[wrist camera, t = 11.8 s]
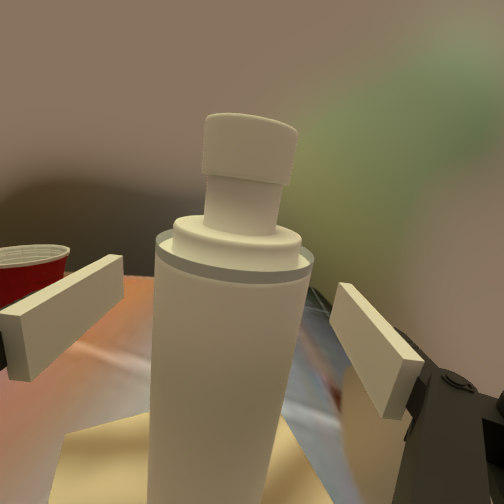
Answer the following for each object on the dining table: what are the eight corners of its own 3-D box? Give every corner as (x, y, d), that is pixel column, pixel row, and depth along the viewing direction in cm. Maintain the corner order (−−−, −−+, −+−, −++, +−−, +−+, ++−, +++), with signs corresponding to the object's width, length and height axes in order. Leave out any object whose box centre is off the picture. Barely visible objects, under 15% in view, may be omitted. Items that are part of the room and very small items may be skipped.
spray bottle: (230, 641, 12) (370, 13, 5) (118, 569, 13) (108, 20, 7) (263, 486, 18) (346, 113, 11) (184, 450, 20) (214, 105, 13)
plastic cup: (50, 300, 44) (42, 236, 41) (91, 319, 40) (87, 250, 37) (-37, 330, 34) (-56, 250, 31) (7, 359, 31) (-9, 271, 27)
